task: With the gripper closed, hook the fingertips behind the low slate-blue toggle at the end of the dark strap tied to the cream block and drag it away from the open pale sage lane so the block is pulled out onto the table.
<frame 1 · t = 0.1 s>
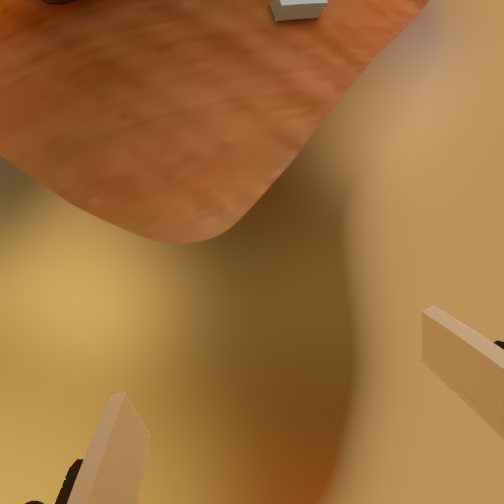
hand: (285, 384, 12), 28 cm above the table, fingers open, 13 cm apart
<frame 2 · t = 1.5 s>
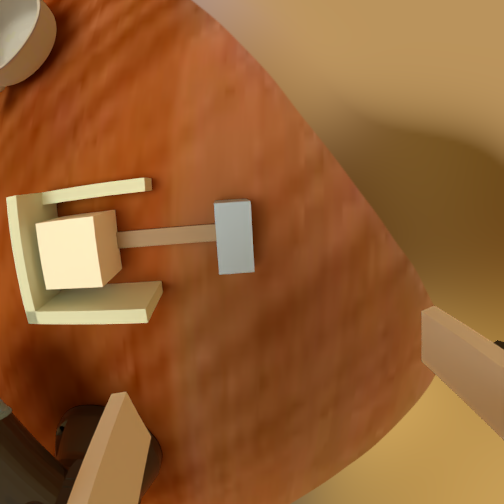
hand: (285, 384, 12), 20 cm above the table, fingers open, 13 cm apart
tethered block: (92, 242, 30), on the table
shelf lane: (100, 241, 30), on the table
teacup: (23, 62, 25), on the table
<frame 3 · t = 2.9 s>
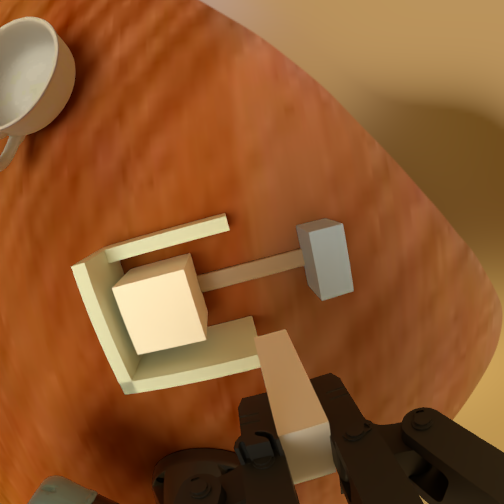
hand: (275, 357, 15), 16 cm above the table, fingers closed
tethered block: (169, 290, 30), on the table
shelf lane: (178, 288, 30), on the table
teacup: (38, 105, 25), on the table
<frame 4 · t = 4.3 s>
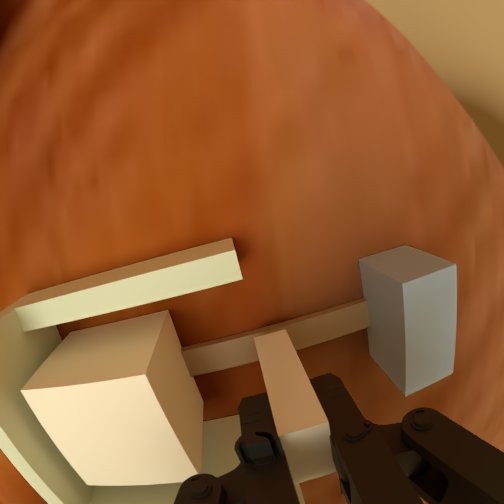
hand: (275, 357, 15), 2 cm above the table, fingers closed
tethered block: (136, 369, 16), on the table
shelf lane: (152, 366, 16), on the table
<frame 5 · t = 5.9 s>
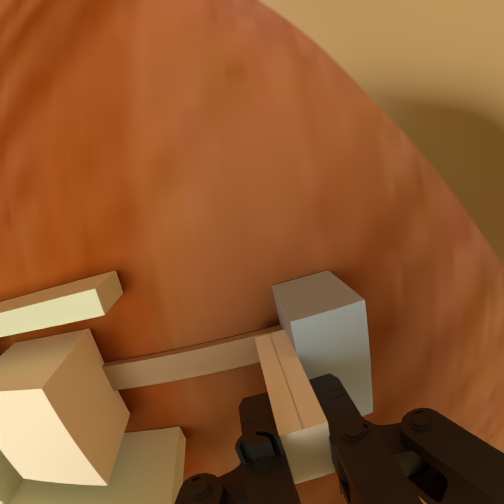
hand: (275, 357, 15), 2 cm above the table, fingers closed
tethered block: (69, 379, 16), on the table, touching gripper
shelf lane: (65, 380, 16), on the table
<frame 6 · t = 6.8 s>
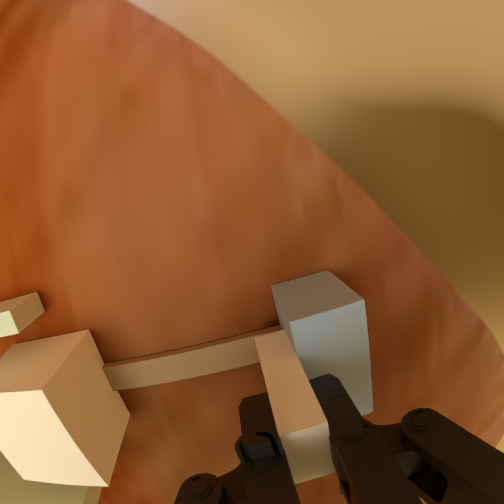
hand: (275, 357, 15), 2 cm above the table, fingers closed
tethered block: (69, 380, 16), on the table, touching gripper
shelf lane: (11, 385, 16), on the table
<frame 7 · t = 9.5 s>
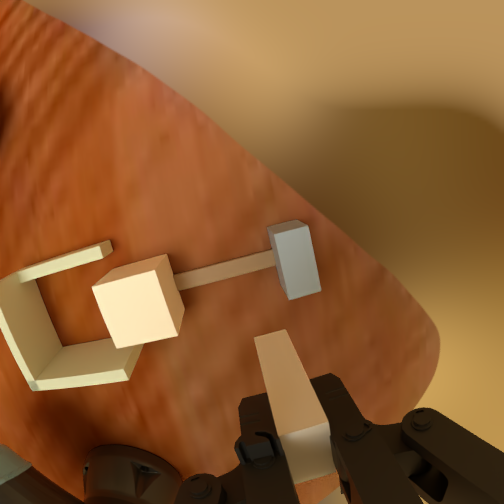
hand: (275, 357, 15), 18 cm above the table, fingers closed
tethered block: (148, 289, 32), on the table
shelf lane: (79, 304, 31), on the table
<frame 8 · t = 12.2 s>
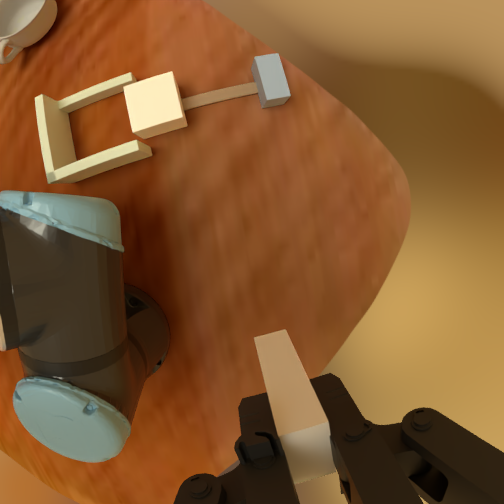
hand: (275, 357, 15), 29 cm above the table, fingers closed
tethered block: (160, 111, 39), on the table
shelf lane: (102, 130, 38), on the table
teacup: (33, 34, 33), on the table
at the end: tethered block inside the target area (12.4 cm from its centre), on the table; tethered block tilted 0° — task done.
